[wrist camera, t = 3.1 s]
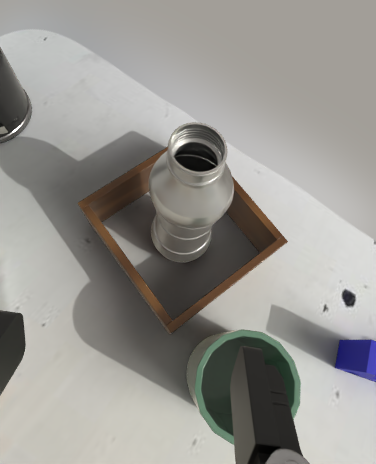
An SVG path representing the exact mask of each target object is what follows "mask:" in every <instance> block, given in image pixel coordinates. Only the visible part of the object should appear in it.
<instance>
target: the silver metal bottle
mask: <svg viewBox="0 0 376 464" xmlns="http://www.w3.org/2000/svg"><path fill="white" fill-rule="evenodd" d="M226 157H227V146H226V142H225V140H224V138H223V137H222V135H221V134H220V133H219V132H218V131H217V130H216V129H214V128H213V127H211V126H209V125H206V124H203V123H196V122H194V123H187V124H184V125H182V126H180V127H178V128H177V129H176V130H175V131H174V132H173V133H172V135H171V137H170V139H169V143H168V150H167V151H166V152H165V153H164V154H162V155H161V156H160V158H159V159H158V160H157V161H156V163H155V164H154V166H153V168H152V170H151V172H150V176H149V191H150V196H151V200H152V202H153V205H154V207H155V209H156V215H155V217H154V220H153V222H152V226H151V237H152V241H153V243H154V245H155V247H156V248H157V250H158V251H159V252H160V253H161V254H162V255H163V256H164V257H166V258H167V259H169V260H171V261H175V262H183V263H184V262H189V261H192V260H195V259H197V258H198V257H200V256H201V255H203V254H204V253H205V252H206V250H207V249H208V247H209V244H210V242H211V235H212V228H211V227H212V225H213V224H214V223H215V222H217V221H218V220H219V219H220V218H221V217H222V216H223V215H224V214H225V212H226V211H227V209H228V208H229V207H230V204H231V202H232V199H233V194H234V185H233V179H232V175H231V172H230V170H229V168H228V166H227V164H226Z"/></svg>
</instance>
